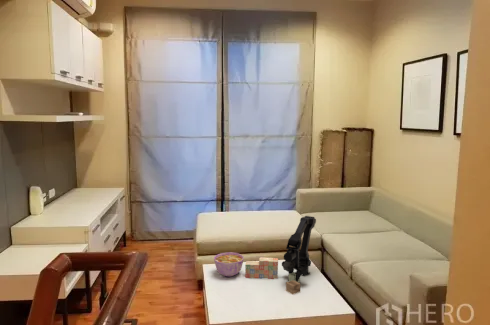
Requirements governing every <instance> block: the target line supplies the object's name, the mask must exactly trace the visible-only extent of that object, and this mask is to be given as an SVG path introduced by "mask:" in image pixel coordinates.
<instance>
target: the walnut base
mask: <svg viewBox="0 0 490 325" xmlns="http://www.w3.org/2000/svg"><path fill="white" fill-rule="evenodd" d="M285 290H286V291H285V292H287V291H288V292H290V293H292V294H294V293H296V294H298V293H297V292H299V293H301V292H300V291H301V283H300V282H296V281H294V280H292V281H289V280H288V281H286V283H285ZM288 292H287V293H288ZM290 293H289V294H290ZM292 294H291V295H292ZM294 295H295V294H294Z"/></svg>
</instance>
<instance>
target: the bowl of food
mask: <svg viewBox="0 0 490 325" xmlns="http://www.w3.org/2000/svg"><path fill="white" fill-rule="evenodd" d="M213 260H214V265H215V267H216V271H217V273H219V274H220V275H222V276H224V277H228V278H229V277H234V276H235V275H237V274H239V273H240V272H241V270H242V267H243V264H244V263H243V262H244V260H245V259H244V256H243V254H240V253H238V252H231V251H229V252H221V253H218V254H215V256H214V257H213Z"/></svg>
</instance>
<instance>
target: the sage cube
mask: <svg viewBox="0 0 490 325" xmlns="http://www.w3.org/2000/svg"><path fill="white" fill-rule="evenodd" d="M295 272H296V271H294V272H293V273H290V274H289V273H288V282H289V281H292V280H294V281H296V274H295ZM300 278H301V277H300ZM300 278H299V280H298V283H300V282H301V280H300Z"/></svg>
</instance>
